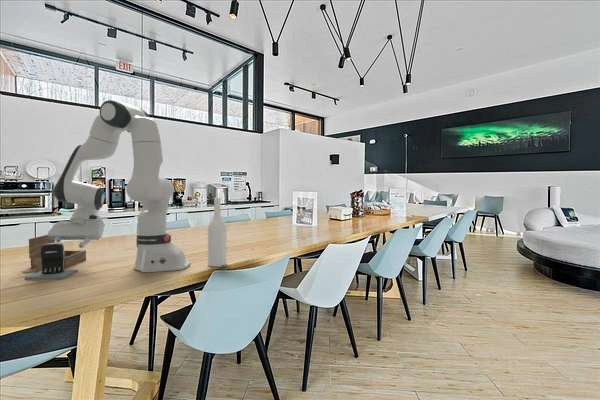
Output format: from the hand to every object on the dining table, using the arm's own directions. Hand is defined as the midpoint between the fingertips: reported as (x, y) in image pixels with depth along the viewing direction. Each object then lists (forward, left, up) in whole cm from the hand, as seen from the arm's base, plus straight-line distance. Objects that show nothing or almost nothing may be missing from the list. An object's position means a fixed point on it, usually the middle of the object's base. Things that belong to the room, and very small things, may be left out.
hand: (69, 247), depth 130 cm
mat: (0, +11, -9) cm, 14 cm away
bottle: (-60, -2, -9) cm, 61 cm away
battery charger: (0, +11, -8) cm, 14 cm away
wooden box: (+8, -5, -9) cm, 13 cm away
